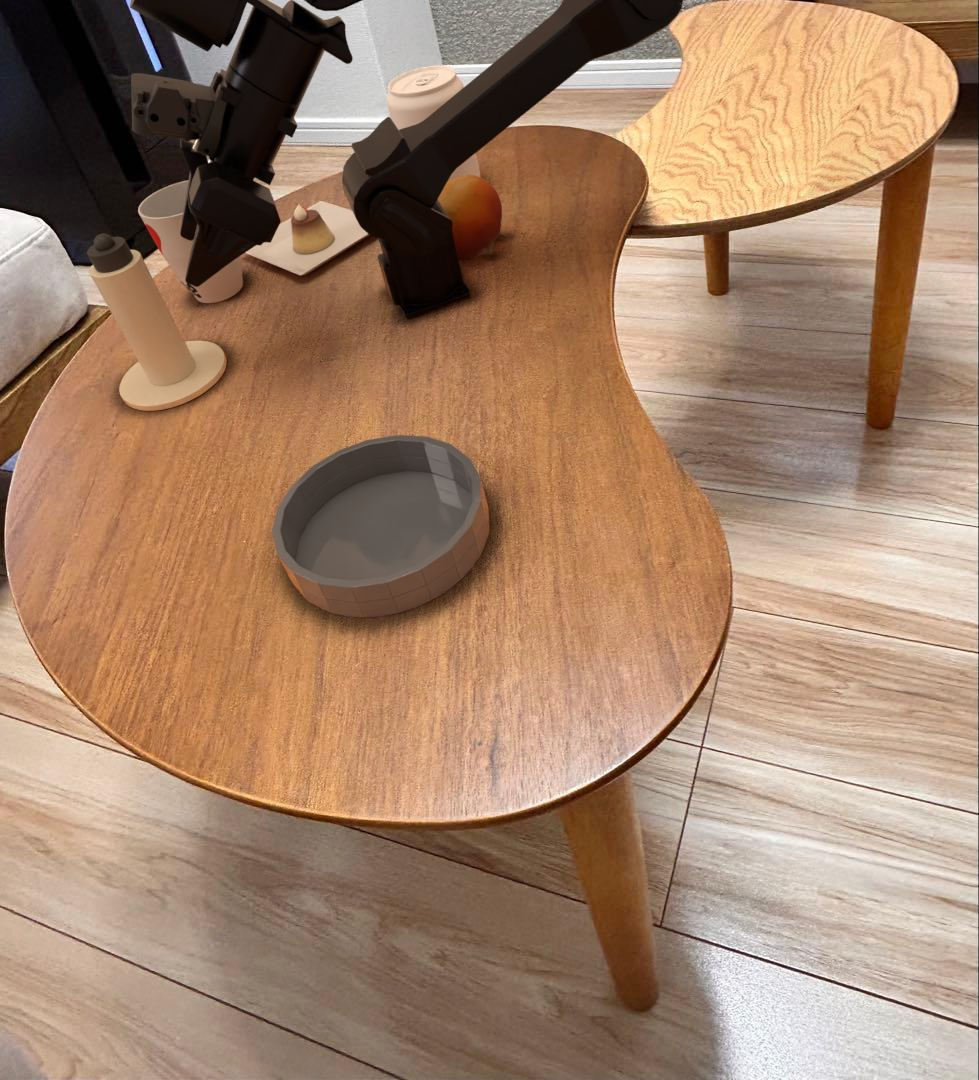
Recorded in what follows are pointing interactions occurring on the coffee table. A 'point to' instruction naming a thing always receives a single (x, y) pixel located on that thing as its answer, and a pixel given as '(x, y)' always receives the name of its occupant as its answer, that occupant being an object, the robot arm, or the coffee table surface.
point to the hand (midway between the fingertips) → (188, 260)
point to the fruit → (472, 215)
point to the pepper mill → (139, 310)
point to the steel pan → (382, 525)
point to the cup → (184, 244)
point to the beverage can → (426, 102)
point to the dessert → (311, 238)
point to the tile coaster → (154, 397)
